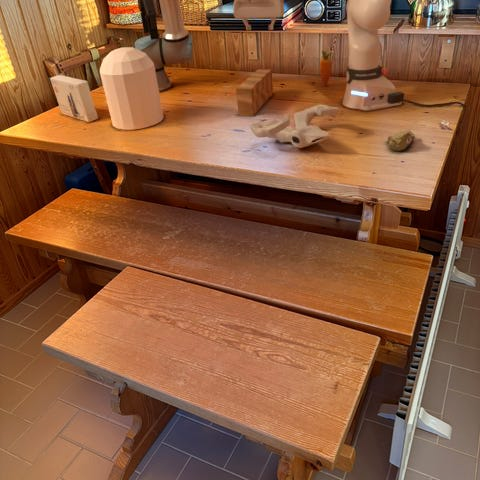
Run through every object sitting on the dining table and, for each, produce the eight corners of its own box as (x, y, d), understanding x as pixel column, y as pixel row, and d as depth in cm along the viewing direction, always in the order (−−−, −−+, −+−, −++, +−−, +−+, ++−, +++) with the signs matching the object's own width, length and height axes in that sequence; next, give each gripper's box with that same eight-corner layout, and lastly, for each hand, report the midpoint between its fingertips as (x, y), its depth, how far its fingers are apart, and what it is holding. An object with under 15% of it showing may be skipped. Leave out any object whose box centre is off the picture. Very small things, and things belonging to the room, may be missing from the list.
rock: (408, 140, 153) (379, 139, 152) (414, 122, 149) (384, 120, 148) (421, 154, 144) (391, 153, 143) (428, 135, 140) (396, 133, 139)
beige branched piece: (248, 155, 150) (245, 120, 144) (261, 127, 172) (259, 95, 165) (336, 156, 144) (338, 119, 138) (338, 126, 166) (340, 93, 159)
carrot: (331, 83, 206) (332, 48, 198) (329, 87, 202) (330, 51, 194) (320, 83, 208) (321, 48, 199) (318, 87, 204) (319, 51, 195)
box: (252, 116, 181) (251, 89, 175) (238, 115, 183) (235, 88, 177) (272, 93, 202) (271, 69, 196) (259, 93, 204) (258, 68, 198)
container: (119, 134, 177) (100, 57, 161) (107, 118, 193) (89, 47, 177) (170, 121, 183) (157, 47, 167) (155, 107, 199) (142, 38, 184)
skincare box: (60, 114, 202) (49, 77, 193) (71, 110, 206) (60, 74, 196) (87, 122, 190) (77, 83, 181) (98, 118, 194) (88, 80, 184)
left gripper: (157, -37, 136) (169, 40, 148) (143, -40, 156) (155, 28, 168) (132, -34, 135) (146, 43, 147) (121, -37, 154) (135, 31, 167)
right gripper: (286, -12, 176) (287, 27, 184) (236, -9, 183) (239, 28, 190) (281, -9, 171) (282, 31, 179) (230, -7, 178) (233, 32, 186)
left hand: (151, 35), depth 158 cm, fingers open, 13 cm apart
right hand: (259, 30), depth 185 cm, fingers open, 8 cm apart
